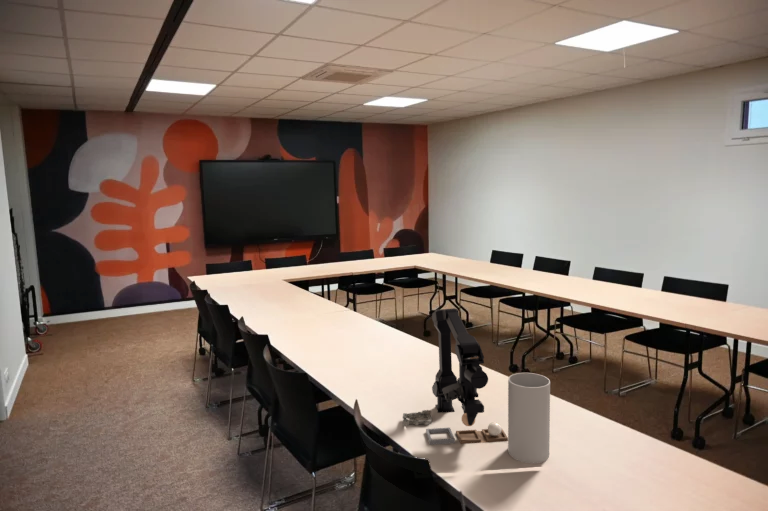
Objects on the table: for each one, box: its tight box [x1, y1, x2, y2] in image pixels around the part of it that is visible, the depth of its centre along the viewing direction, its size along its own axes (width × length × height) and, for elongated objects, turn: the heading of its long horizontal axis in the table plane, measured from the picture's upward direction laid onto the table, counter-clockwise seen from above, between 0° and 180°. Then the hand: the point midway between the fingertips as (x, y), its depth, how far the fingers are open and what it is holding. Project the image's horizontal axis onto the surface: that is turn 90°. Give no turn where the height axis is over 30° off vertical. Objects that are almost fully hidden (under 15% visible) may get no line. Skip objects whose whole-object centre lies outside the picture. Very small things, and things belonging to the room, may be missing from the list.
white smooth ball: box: [487, 421, 503, 437], centre depth 170 cm, size 5×5×5 cm
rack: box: [455, 427, 508, 445], centre depth 170 cm, size 8×16×2 cm, turn 94°
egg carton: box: [402, 409, 433, 427], centre depth 183 cm, size 11×8×4 cm
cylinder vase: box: [507, 372, 551, 464], centre depth 157 cm, size 12×12×25 cm
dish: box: [425, 427, 456, 446], centre depth 170 cm, size 8×8×2 cm
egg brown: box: [461, 412, 476, 427], centre depth 169 cm, size 5×5×5 cm
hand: (468, 421), depth 169 cm, fingers closed on egg brown, 5 cm apart
